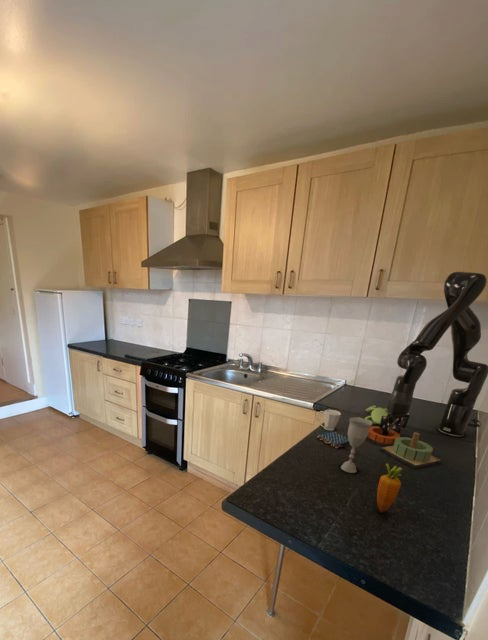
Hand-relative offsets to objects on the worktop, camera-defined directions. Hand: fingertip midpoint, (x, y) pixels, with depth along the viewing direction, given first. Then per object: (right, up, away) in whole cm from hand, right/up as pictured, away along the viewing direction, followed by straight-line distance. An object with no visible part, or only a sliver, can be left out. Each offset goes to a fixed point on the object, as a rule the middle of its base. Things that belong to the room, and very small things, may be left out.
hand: (389, 437), depth 141 cm
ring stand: (-1, -6, -14) cm, 16 cm away
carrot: (-32, -16, -48) cm, 59 cm away
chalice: (-30, -8, -26) cm, 41 cm away
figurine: (+8, +5, +20) cm, 22 cm away
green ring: (-1, -4, -15) cm, 16 cm away
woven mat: (-26, -1, -5) cm, 27 cm away
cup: (-24, +3, +8) cm, 26 cm away
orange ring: (-5, -1, -2) cm, 5 cm away
